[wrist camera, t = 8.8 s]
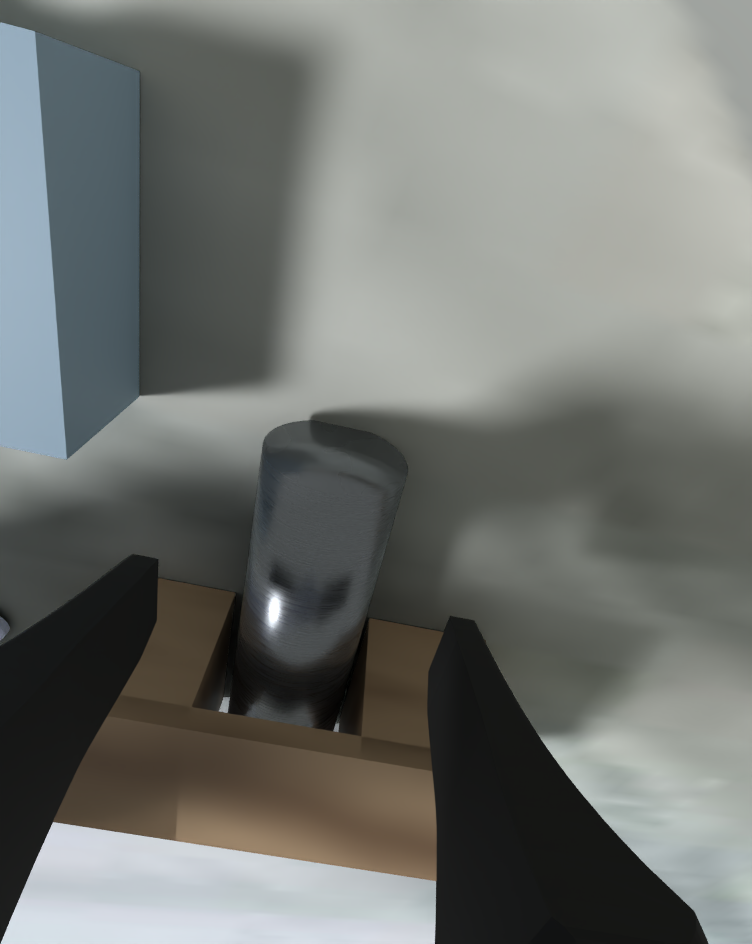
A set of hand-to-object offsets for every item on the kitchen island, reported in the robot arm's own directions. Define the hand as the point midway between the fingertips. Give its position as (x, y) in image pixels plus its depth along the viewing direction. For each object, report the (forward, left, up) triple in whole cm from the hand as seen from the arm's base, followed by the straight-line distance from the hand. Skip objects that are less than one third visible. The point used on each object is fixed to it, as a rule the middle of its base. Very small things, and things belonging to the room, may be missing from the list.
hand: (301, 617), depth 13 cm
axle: (-3, -3, -3) cm, 5 cm away
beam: (-5, -5, -5) cm, 9 cm away
